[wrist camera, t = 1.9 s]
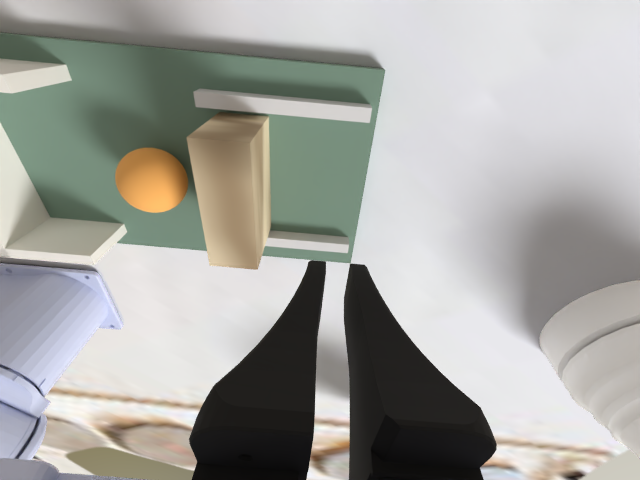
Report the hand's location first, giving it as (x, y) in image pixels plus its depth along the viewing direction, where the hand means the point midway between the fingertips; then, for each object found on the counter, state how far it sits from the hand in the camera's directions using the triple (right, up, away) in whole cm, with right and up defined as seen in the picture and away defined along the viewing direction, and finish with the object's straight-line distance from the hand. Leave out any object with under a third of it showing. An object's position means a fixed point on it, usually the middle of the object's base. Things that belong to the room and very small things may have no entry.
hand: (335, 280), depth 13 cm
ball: (-11, +5, +6) cm, 14 cm away
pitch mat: (-10, +7, +8) cm, 15 cm away
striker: (-6, +6, +8) cm, 11 cm away
